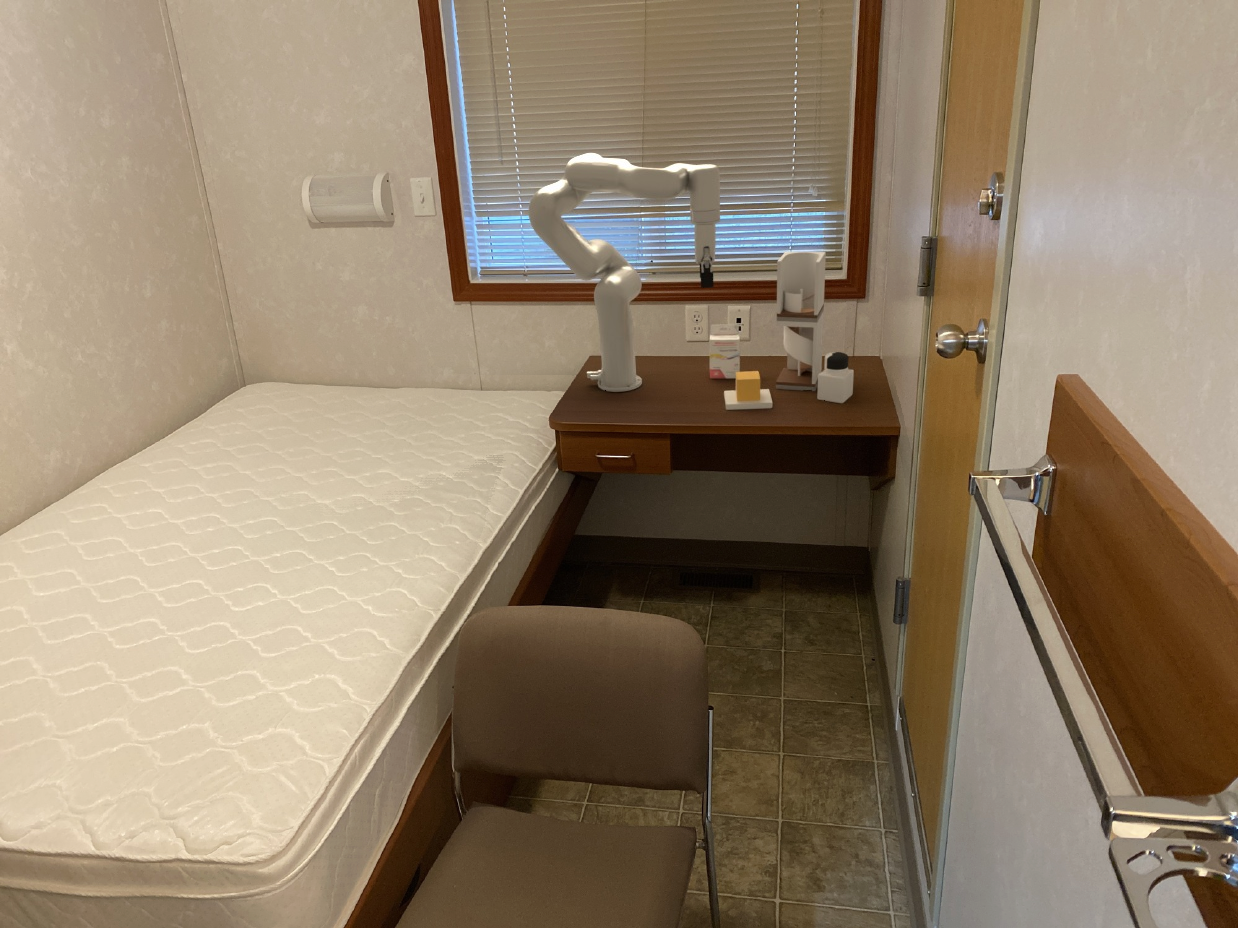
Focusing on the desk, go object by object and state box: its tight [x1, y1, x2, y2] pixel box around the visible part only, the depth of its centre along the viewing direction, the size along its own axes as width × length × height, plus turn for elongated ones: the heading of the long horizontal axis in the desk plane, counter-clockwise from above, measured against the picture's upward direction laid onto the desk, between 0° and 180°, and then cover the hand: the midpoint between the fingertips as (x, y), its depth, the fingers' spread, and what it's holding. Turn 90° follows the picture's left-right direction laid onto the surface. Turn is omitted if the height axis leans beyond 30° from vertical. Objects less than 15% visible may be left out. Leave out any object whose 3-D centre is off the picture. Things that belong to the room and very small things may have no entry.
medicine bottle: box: [816, 351, 855, 404], centre depth 239 cm, size 7×7×12 cm
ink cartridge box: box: [709, 323, 741, 379], centre depth 258 cm, size 9×5×15 cm, turn 84°
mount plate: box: [723, 388, 773, 411], centre depth 241 cm, size 12×10×6 cm
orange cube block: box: [735, 370, 761, 401], centre depth 240 cm, size 6×6×6 cm
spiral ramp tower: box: [775, 251, 827, 392], centre depth 245 cm, size 11×11×35 cm
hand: (706, 282), depth 238 cm, fingers open, 9 cm apart
